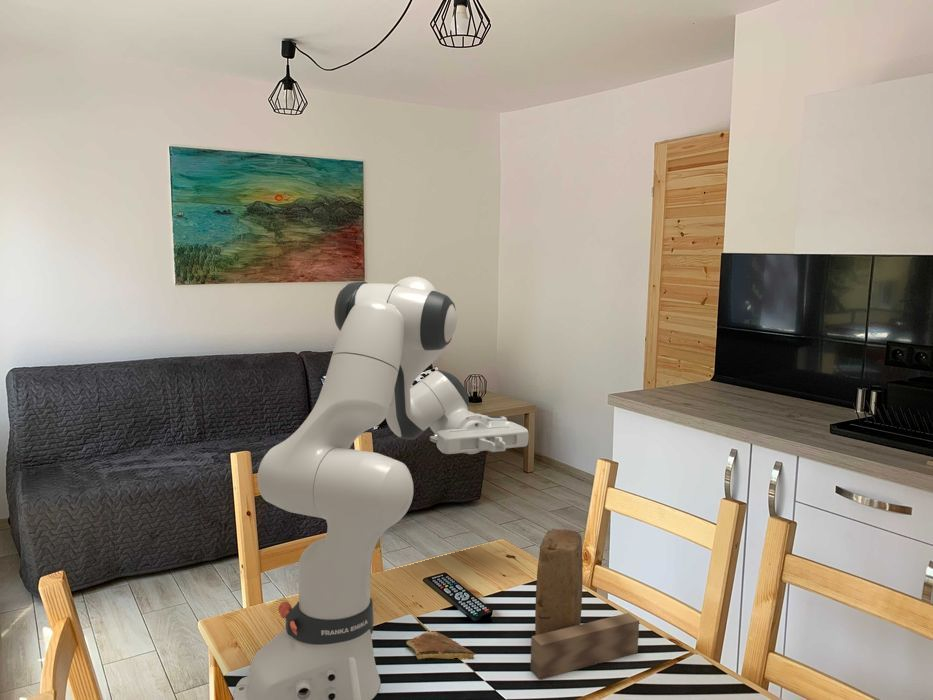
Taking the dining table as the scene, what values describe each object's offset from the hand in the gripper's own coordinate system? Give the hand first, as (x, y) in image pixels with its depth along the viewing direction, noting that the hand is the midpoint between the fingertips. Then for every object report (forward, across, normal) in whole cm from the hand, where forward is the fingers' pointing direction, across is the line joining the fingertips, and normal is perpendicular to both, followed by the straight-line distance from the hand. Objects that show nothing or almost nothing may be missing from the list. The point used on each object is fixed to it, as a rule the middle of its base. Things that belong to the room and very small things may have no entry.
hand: (499, 447), depth 145 cm
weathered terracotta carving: (+23, +1, +30) cm, 38 cm away
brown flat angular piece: (+16, -20, +31) cm, 40 cm away
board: (+30, +1, +30) cm, 43 cm away
